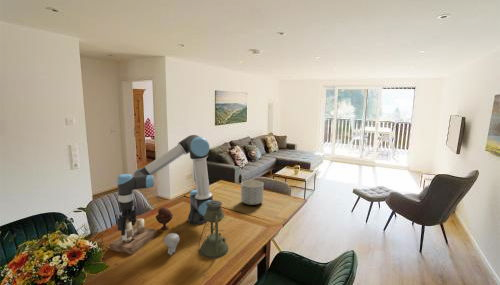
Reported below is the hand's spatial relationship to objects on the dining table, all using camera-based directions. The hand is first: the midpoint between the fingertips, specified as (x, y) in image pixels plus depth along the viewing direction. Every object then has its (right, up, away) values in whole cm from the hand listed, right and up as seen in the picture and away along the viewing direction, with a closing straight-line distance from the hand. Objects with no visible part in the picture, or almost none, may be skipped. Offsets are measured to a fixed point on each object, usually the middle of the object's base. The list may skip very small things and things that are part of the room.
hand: (128, 237), depth 152 cm
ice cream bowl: (+14, -3, +23) cm, 27 cm away
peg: (0, -3, 0) cm, 3 cm away
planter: (+75, +4, +69) cm, 102 cm away
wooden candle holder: (+1, -5, +6) cm, 8 cm away
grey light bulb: (+28, -8, -5) cm, 30 cm away
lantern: (+51, -7, 0) cm, 52 cm away
